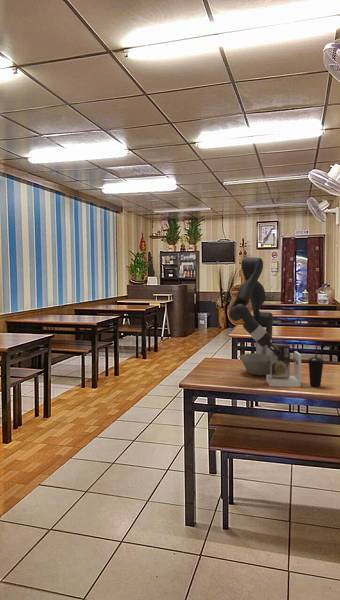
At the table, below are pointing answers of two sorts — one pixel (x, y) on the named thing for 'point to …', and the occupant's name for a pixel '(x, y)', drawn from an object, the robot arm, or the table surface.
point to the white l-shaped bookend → (288, 381)
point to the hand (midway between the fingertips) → (283, 359)
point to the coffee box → (280, 362)
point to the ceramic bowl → (256, 363)
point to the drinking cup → (315, 370)
